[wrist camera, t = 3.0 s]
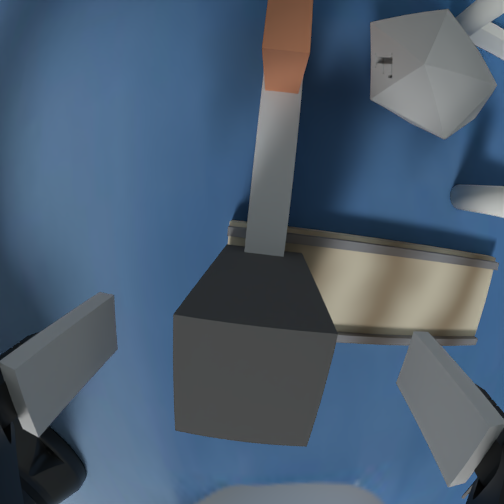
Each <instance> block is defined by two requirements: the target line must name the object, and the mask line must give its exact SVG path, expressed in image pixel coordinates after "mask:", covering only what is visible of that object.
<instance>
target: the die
mask: <svg viewBox="0 0 504 504" xmlns="http://www.w3.org/2000/svg"><path fill="white" fill-rule="evenodd" d="M370 31H371V88H370V100H372V101H374V102H376V103H377V104H379V105H381V106H383V107H384V108H386V109H388V110H389V111H391V112H393V113H394V114H396V115H398V116H399V117H401V118H403V119H404V120H406V121H407V122H409V123H411V124H413V125H415V126H417V127H419V128H421V129H424V130H426V131H428V132H430V133H432V134H434V135H436V136H438V137H440V138H442V139H444V140H445V139H446V138H448V137H449V136H450V135H452V134H453V133H455V132H456V131H458V130H459V129H460V128H462V127H463V126H465V125H466V124H467V123H469V122H470V121H472V120H473V119H475V118H476V116H477V115H478V113H479V112H480V110H481V109H482V107H483V106H484V105H485V103H486V102H487V100H488V99H489V97H490V96H491V94H492V93H493V91H494V90H495V88H496V86H497V84H496V82H495V80H494V78H493V76H492V74H491V72H490V71H489V69H488V67H487V65H486V63H485V61H484V59H483V58H482V56H481V54H480V52H479V51H478V49H477V48H476V46H475V45H474V43H473V42H472V40H471V39H470V37H469V36H468V34H467V33H466V32H465V30H464V29H463V28H462V26H461V25H460V24H459V22H458V21H457V20H456V18H455V17H454V16H453V14H452V13H451V12H450V11H449V9H444V10H435V11H428V12H421V13H415V14H409V15H403V16H398V17H393V18H388V19H383V20H378V21H374V22H370Z"/></svg>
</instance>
